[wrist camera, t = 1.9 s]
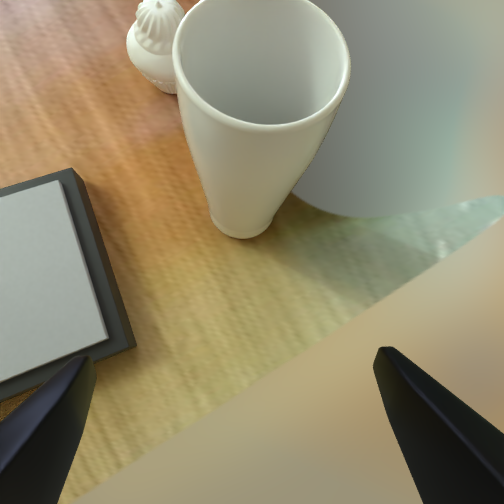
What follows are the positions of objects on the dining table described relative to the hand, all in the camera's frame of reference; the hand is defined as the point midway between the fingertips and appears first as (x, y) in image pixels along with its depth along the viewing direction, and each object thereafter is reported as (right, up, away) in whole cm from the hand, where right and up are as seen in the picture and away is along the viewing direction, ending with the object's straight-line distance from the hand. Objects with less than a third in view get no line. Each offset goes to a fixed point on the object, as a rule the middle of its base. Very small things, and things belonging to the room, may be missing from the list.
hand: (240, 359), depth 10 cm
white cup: (-1, +7, +16) cm, 17 cm away
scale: (-17, 0, +13) cm, 21 cm away
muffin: (-7, +19, +19) cm, 28 cm away
